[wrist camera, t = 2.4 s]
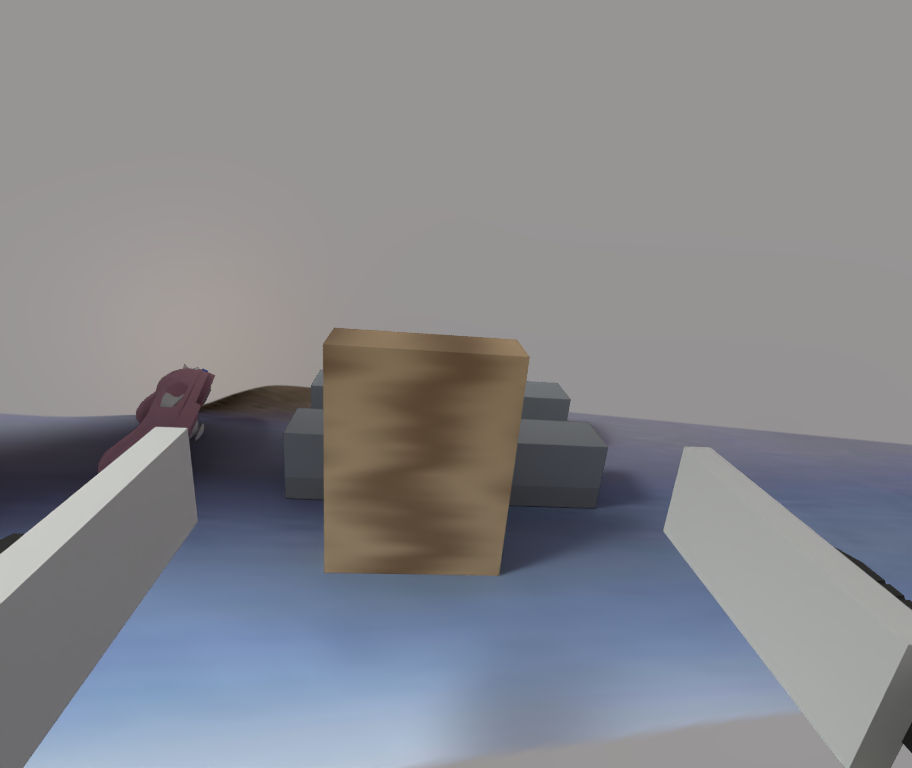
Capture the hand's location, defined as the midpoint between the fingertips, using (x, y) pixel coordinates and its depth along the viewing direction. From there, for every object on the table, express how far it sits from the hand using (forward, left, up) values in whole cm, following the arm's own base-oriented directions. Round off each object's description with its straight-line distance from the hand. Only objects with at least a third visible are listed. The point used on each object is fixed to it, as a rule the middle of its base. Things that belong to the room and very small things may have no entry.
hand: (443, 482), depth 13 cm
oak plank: (0, +11, -11) cm, 15 cm away
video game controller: (-18, +22, -11) cm, 30 cm away
